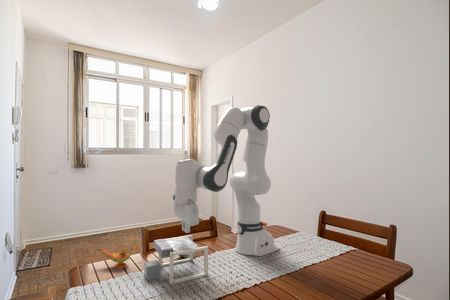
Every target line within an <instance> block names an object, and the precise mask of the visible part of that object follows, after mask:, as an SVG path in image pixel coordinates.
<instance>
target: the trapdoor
mask: <svg viewBox="0 0 450 300" xmlns="http://www.w3.org/2000/svg"><path fill="white" fill-rule="evenodd" d="M164 239H165V238H161V239H154V240H153V248H154V249H155V251H156V252H157V254H158V256H159V255H160V256H161V258H162V259H165V258H170V253H171V252H176V251H182V250H187V249H193V248H198V247H200V246H199V245H198V244H196V242H194V241H191V240H190V239H189V238H188V237H184V238H178V239H171V240H164Z"/></svg>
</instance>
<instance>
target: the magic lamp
mask: <svg viewBox="0 0 450 300" xmlns="http://www.w3.org/2000/svg"><path fill="white" fill-rule="evenodd" d="M132 243H133V244H132V247H131V249H130V251H126V249H125V248H124V247H122V249H121V250H120V251H119V252H116V253H115V252H109V251H106V250H105V249H101V248H98V249H96V251H98V252H99V253H101V254H102V255H103V256H105V257H106V258H107V259H109V260H111V261H113V262H114V263H117V264H115V265H113V266H114V269H122V268H126V267H127V266H128V264H127V263H125V262H126V261H127V260H129V261H131V259H130V257H131V256H133V255H135V254H137V252H138V251H139V248H138V246H137V245H136V244H137V241H136V240H135V239H134V240H133V242H132ZM134 246H135V248H136V250H135V252H133V249H134ZM132 252H133V253H132ZM130 253H131V254H130Z"/></svg>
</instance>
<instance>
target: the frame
mask: <svg viewBox="0 0 450 300" xmlns="http://www.w3.org/2000/svg"><path fill="white" fill-rule="evenodd" d="M184 237H188V238H189V239H190V240H191V241H193V240H194V236H193V234H190V235H183V236H177V237H176V236H175V237H170V238H169V237H168V238H163V239H164V240H171V239H178V238H184ZM193 242H194V241H193ZM201 251H203V272H202V273H198V274H197V273H196V274H193V275H188V276H185V277H184V276H183V277H180V278H176V279H174V278H175V275H174V274H175V273H174V272H175V271H174V269H175V268H174V266H175V265H177V264H181V263H186V262H191V261H193V259H194V258H193V252H194V253H197V252H201ZM187 253H189V258H184V259H178V260H175V257H176V256H179V255H182V254H187ZM158 262H159V263H160V268H162V267H167V266H169V284H170V285H173V284H178V283H182V282H186V281H190V280H193V279H194V280H195V279H200V278H202V277H206V276H207V277H208V276H209V246H207V245H204V246H199V247H198V248H193V249H187V250H182V251H176V252H171V253H170V257H169V262H163V258H161V256H160V255H159V254H158Z"/></svg>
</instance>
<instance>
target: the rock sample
mask: <svg viewBox="0 0 450 300" xmlns="http://www.w3.org/2000/svg"><path fill="white" fill-rule="evenodd" d="M196 256H197V254H196V252H193V259H194V258H196ZM178 257H180V258H184V259H187V258H189V253H187V254H182V255H178Z"/></svg>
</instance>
